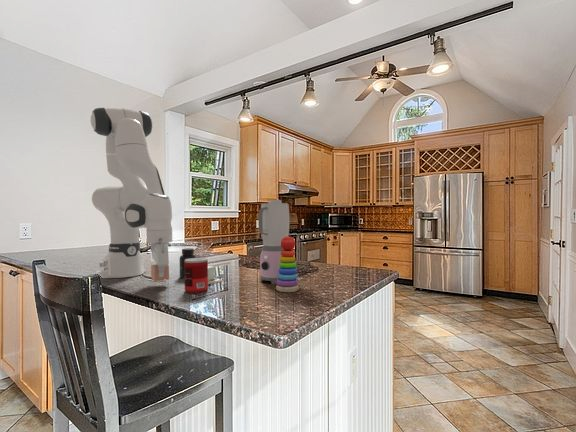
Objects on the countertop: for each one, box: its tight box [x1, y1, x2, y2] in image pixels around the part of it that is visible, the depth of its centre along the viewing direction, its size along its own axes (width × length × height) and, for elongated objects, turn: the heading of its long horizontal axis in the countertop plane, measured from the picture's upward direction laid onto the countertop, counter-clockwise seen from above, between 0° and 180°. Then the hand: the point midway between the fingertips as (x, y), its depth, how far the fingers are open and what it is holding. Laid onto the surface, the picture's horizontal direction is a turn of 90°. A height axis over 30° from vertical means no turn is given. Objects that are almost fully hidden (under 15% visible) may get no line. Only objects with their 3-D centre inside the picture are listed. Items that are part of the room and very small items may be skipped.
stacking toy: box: [275, 235, 300, 293], centre depth 109 cm, size 8×8×19 cm
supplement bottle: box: [178, 247, 197, 279], centre depth 133 cm, size 7×7×12 cm
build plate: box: [208, 278, 222, 286], centre depth 123 cm, size 9×8×1 cm
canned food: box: [184, 257, 209, 294], centre depth 110 cm, size 8×8×11 cm
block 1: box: [150, 264, 170, 282], centre depth 117 cm, size 5×5×5 cm
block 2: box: [208, 265, 216, 281], centre depth 123 cm, size 5×5×5 cm
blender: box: [257, 199, 290, 285], centre depth 123 cm, size 16×12×32 cm
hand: (160, 274), depth 117 cm, fingers closed on block 1, 5 cm apart
